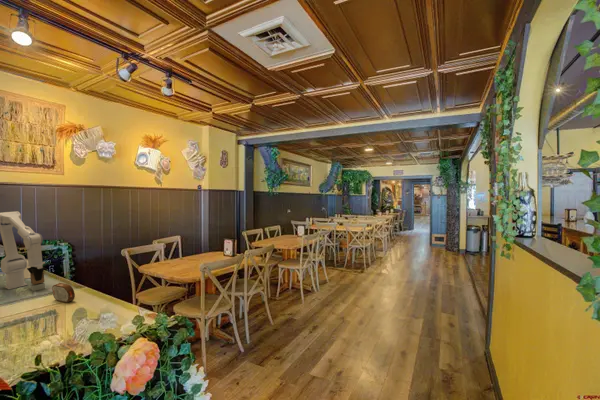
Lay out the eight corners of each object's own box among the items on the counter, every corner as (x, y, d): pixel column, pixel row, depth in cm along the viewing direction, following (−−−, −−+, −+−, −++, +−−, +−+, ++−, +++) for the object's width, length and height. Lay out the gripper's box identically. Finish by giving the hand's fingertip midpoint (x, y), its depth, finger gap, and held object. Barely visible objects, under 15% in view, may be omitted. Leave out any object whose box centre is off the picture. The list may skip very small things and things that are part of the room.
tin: (76, 301, 134) (74, 284, 134) (68, 304, 131) (66, 286, 131) (59, 298, 141) (57, 281, 140) (51, 300, 138) (50, 283, 137)
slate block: (31, 289, 157) (30, 284, 156) (42, 287, 161) (42, 282, 160) (33, 291, 154) (32, 286, 153) (45, 288, 158) (44, 283, 157)
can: (39, 275, 185) (37, 257, 184) (28, 279, 178) (26, 260, 178) (30, 276, 185) (28, 258, 185) (19, 279, 179) (17, 260, 178)
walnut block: (31, 283, 156) (30, 273, 156) (41, 281, 160) (40, 271, 160) (33, 284, 154) (32, 274, 154) (44, 282, 158) (43, 272, 158)
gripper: (48, 255, 156) (51, 279, 156) (39, 253, 163) (41, 276, 164) (31, 258, 150) (34, 283, 150) (23, 256, 157) (25, 279, 158)
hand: (37, 279), depth 157 cm, fingers closed on walnut block, 4 cm apart
